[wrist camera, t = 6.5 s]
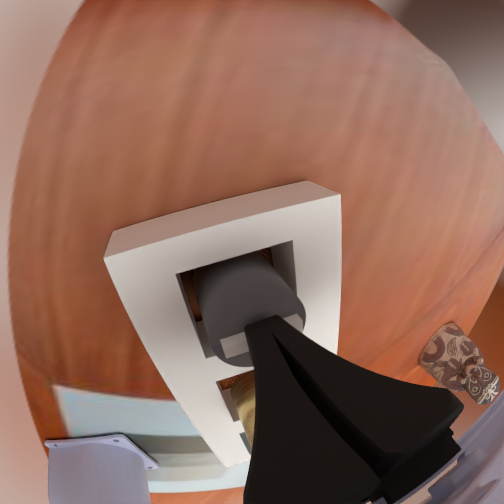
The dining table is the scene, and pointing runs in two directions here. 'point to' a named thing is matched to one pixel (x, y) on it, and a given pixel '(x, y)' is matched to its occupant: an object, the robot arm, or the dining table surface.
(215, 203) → the control deck
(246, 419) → the brass knob middle
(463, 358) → the figurine
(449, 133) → the dining table surface
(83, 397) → the dining table surface
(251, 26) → the dining table surface
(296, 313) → the black knob
